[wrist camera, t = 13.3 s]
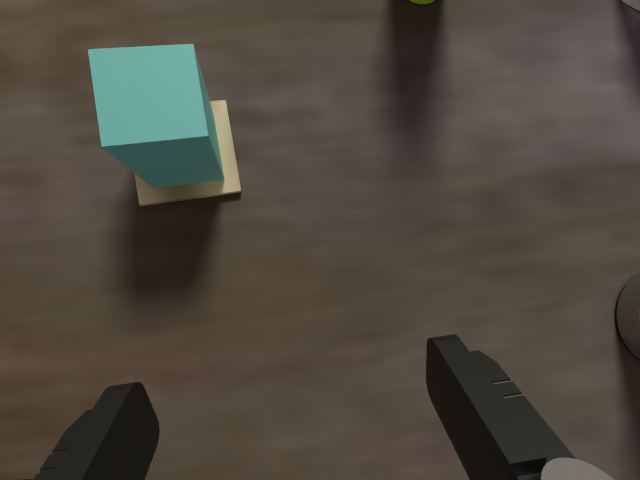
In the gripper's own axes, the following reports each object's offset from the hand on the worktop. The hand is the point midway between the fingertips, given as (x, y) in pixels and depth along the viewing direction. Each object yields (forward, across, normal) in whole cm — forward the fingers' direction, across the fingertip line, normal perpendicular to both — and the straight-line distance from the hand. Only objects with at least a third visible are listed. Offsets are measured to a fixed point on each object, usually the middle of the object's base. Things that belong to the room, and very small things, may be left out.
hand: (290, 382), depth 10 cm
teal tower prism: (+22, +8, -4) cm, 24 cm away
